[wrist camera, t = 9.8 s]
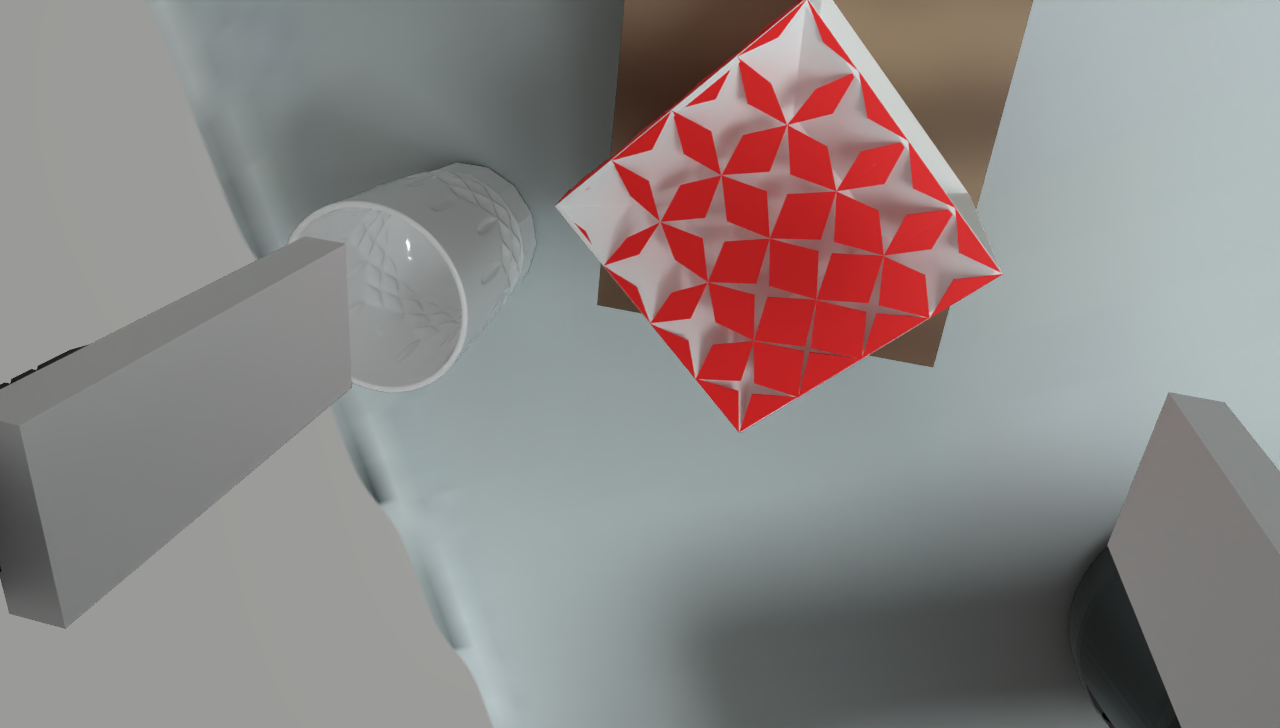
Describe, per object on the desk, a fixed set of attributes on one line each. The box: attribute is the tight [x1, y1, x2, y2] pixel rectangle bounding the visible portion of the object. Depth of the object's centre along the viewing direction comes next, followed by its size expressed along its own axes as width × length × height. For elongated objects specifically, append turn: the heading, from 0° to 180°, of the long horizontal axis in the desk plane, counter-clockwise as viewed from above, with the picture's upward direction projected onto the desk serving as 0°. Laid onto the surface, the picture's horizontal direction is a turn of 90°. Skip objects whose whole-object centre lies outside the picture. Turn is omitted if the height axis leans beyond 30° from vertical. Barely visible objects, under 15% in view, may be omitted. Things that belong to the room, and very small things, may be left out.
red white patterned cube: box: [555, 0, 1003, 433], centre depth 26 cm, size 8×8×8 cm
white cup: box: [287, 163, 537, 392], centre depth 40 cm, size 8×8×10 cm
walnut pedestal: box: [597, 0, 1033, 367], centre depth 34 cm, size 12×12×10 cm
